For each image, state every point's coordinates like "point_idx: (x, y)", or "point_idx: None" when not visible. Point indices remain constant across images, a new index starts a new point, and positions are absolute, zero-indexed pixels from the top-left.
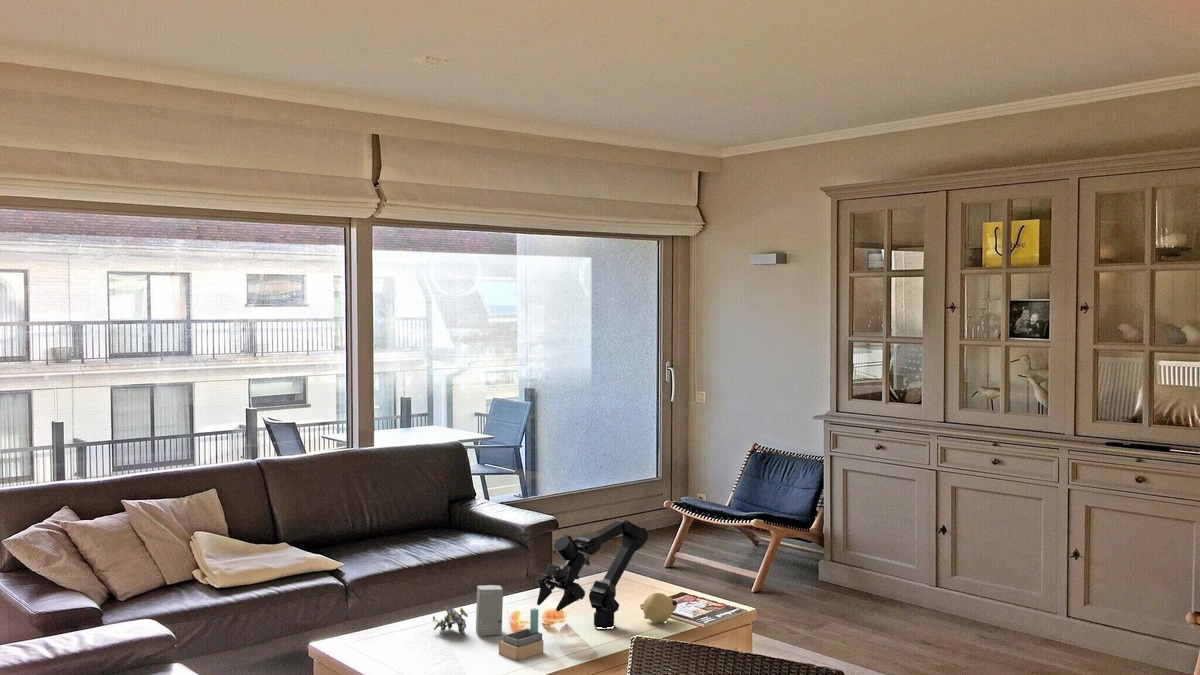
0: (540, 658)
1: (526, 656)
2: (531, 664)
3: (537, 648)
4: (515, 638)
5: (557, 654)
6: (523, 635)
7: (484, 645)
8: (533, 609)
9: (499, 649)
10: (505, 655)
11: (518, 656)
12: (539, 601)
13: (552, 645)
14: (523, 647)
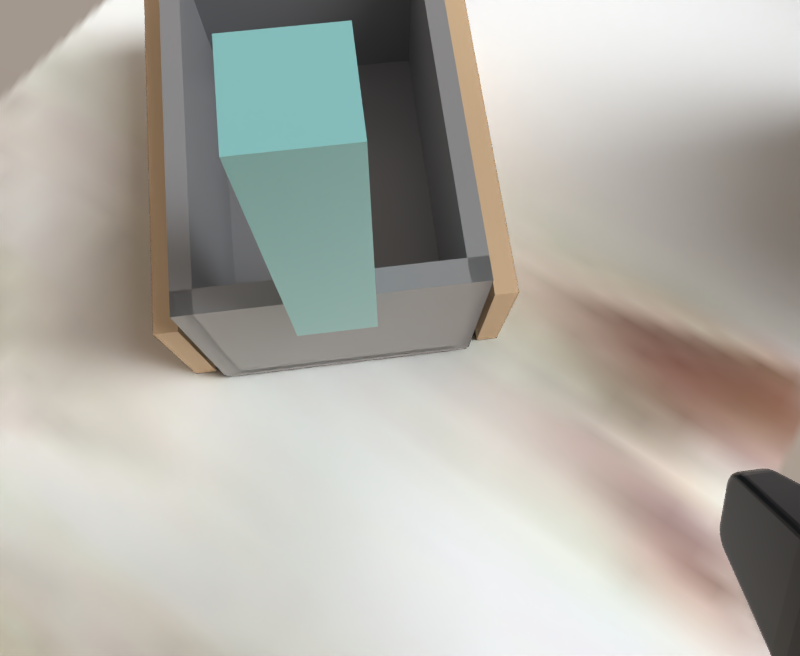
0: (86, 256)
1: None
2: (25, 108)
3: None
4: (431, 113)
5: (48, 467)
6: (449, 224)
7: (720, 50)
8: (297, 66)
9: None
10: None
11: None
12: (783, 553)
13: (321, 606)
14: (150, 50)
